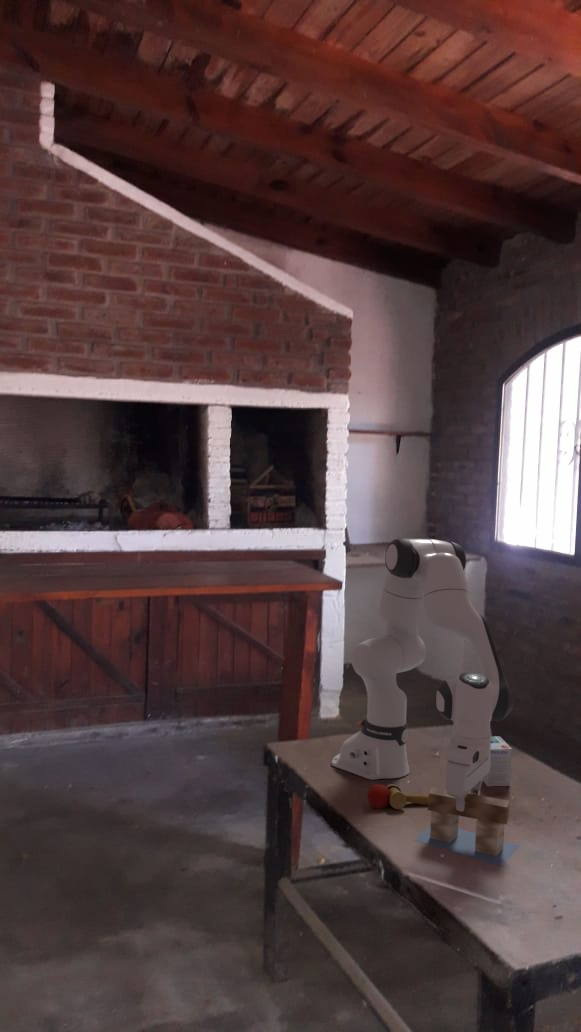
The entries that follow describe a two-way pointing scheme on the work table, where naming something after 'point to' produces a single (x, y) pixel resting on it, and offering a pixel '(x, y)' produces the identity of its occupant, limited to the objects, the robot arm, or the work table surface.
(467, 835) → the board
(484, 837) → the pillar right
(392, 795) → the kendama
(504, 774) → the light bulb box
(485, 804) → the beam
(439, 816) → the pillar left
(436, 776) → the work table surface
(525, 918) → the work table surface
